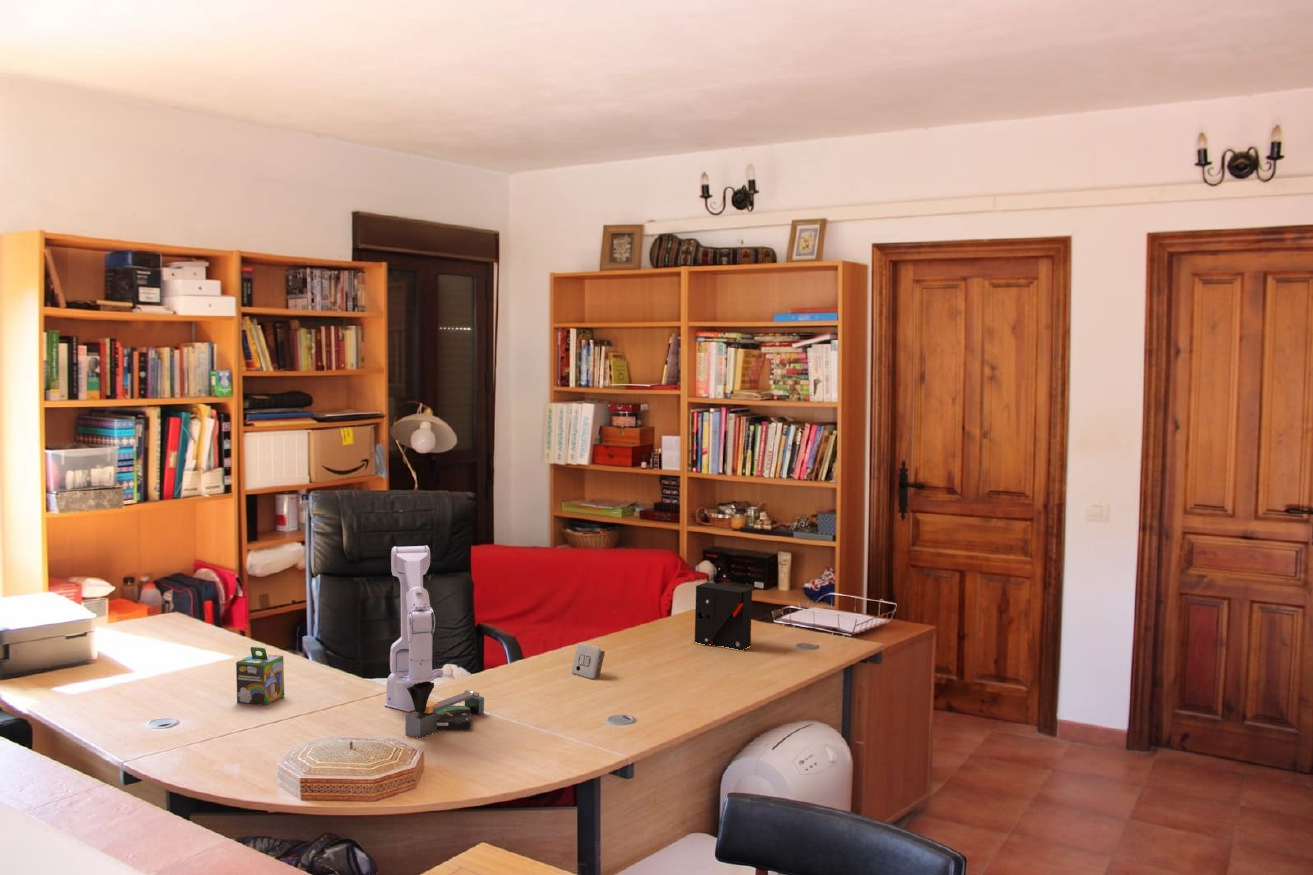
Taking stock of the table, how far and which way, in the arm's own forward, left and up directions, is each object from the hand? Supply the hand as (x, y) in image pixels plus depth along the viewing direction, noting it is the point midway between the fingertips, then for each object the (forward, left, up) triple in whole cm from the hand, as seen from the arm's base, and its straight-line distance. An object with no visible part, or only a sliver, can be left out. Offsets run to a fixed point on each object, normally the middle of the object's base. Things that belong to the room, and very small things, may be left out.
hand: (420, 711), depth 269 cm
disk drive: (0, +11, -6) cm, 13 cm away
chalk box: (-55, -4, -6) cm, 56 cm away
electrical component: (+21, +124, -6) cm, 125 cm away
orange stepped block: (0, +3, 0) cm, 3 cm away
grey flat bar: (0, +11, -1) cm, 11 cm away
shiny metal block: (0, +10, -6) cm, 11 cm away
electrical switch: (+4, +68, -6) cm, 68 cm away
